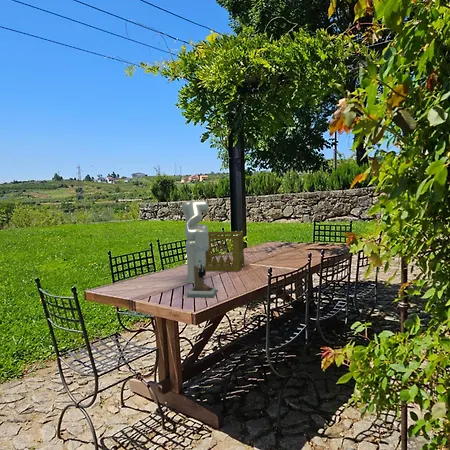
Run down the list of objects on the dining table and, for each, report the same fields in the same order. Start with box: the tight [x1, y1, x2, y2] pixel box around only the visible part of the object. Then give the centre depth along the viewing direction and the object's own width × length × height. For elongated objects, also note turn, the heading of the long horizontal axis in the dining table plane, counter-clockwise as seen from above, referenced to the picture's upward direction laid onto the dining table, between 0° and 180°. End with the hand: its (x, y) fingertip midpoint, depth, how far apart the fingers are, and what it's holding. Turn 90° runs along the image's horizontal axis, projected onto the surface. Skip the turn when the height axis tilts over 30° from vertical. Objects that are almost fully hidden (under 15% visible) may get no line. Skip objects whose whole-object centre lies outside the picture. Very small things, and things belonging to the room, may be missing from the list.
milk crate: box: [204, 230, 245, 272], centre depth 345 cm, size 36×35×30 cm
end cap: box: [186, 286, 219, 299], centre depth 256 cm, size 16×17×4 cm
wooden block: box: [194, 265, 211, 291], centre depth 255 cm, size 9×4×18 cm, turn 61°
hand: (202, 276), depth 255 cm, fingers open, 5 cm apart
